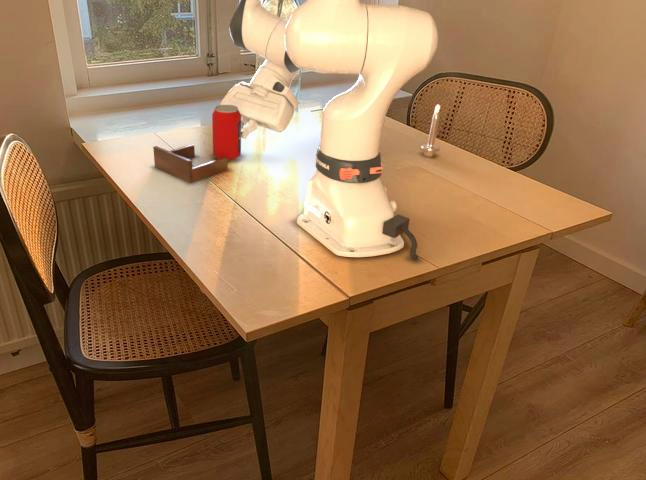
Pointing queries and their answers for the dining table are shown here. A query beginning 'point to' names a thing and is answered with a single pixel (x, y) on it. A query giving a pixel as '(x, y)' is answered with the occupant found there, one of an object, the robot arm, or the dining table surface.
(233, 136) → the beverage can
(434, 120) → the screw
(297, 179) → the dining table surface
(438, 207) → the dining table surface
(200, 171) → the bay
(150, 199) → the dining table surface
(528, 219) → the dining table surface
